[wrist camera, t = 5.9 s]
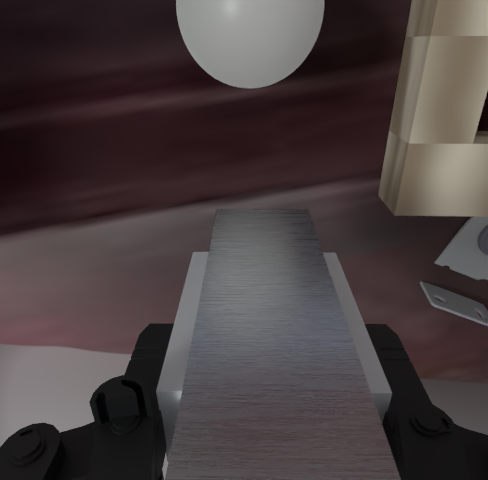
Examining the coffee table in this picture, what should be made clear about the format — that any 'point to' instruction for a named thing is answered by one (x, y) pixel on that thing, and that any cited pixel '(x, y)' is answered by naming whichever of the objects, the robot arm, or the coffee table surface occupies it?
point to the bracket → (463, 269)
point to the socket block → (440, 114)
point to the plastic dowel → (249, 37)
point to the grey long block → (274, 364)
